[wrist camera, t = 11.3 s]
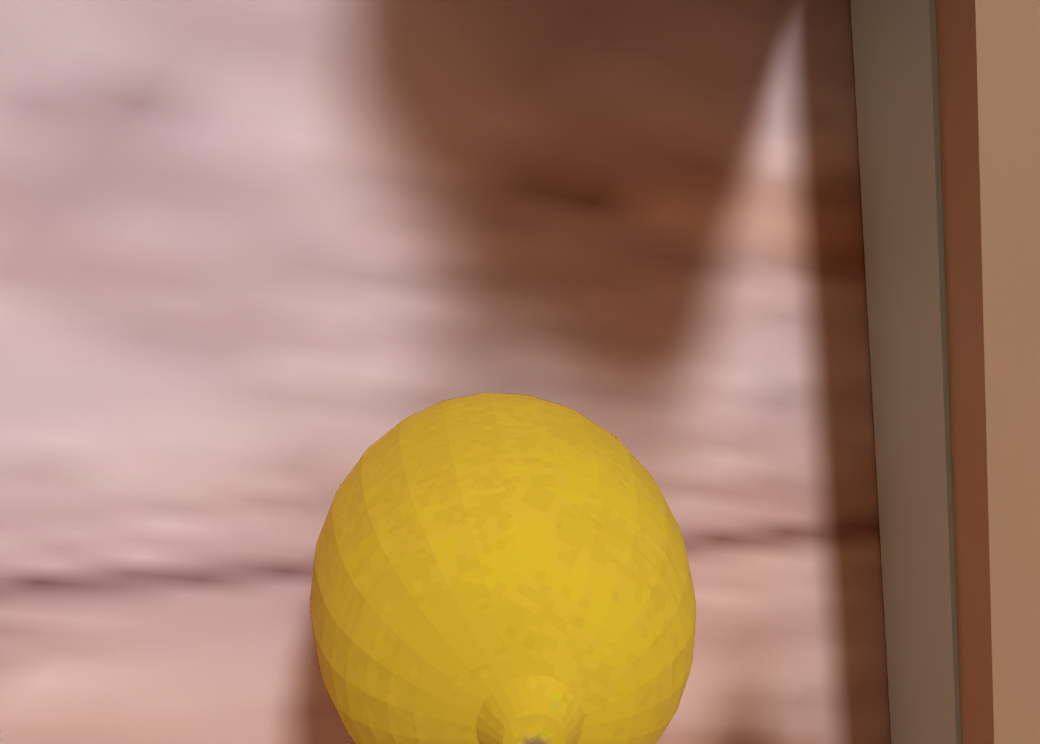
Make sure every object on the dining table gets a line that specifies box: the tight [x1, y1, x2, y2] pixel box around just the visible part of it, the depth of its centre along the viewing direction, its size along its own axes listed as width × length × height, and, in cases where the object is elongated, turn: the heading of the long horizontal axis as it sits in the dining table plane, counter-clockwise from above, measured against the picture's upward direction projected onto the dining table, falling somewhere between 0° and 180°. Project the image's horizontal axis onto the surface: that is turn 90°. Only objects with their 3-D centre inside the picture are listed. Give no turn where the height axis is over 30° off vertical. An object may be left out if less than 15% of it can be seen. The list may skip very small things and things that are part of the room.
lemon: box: [310, 393, 696, 744], centre depth 13 cm, size 6×6×8 cm
